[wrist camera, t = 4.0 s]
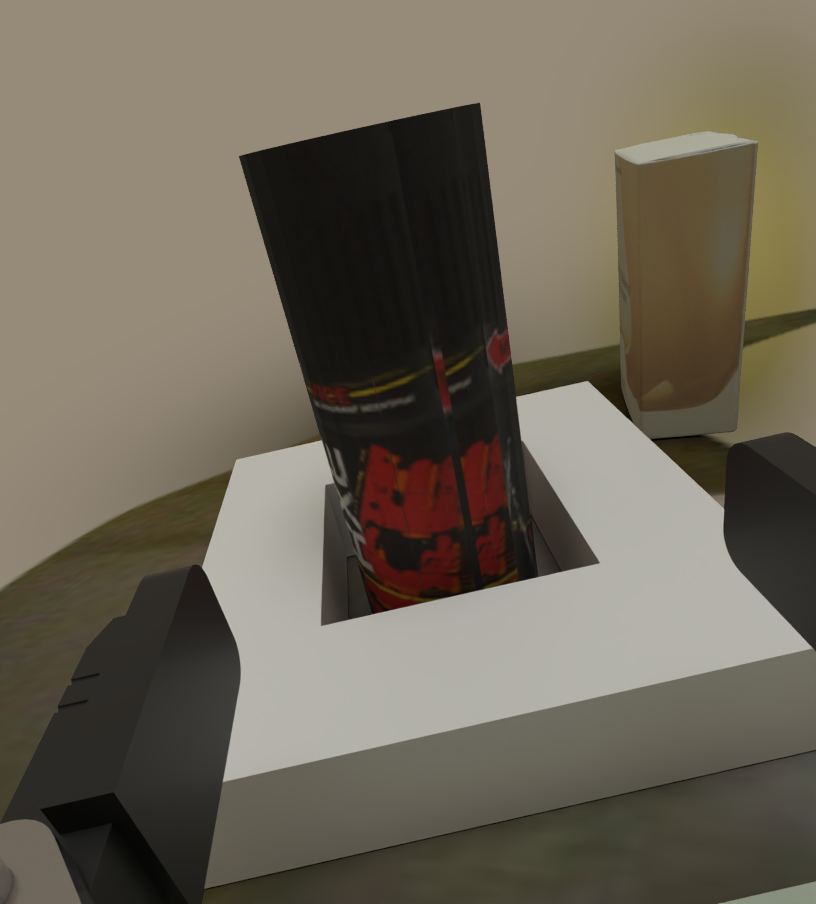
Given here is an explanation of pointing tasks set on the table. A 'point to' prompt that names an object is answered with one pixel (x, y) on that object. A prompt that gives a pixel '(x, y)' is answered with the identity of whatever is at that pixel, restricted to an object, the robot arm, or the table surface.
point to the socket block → (491, 656)
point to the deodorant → (404, 347)
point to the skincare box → (684, 279)
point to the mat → (783, 896)
